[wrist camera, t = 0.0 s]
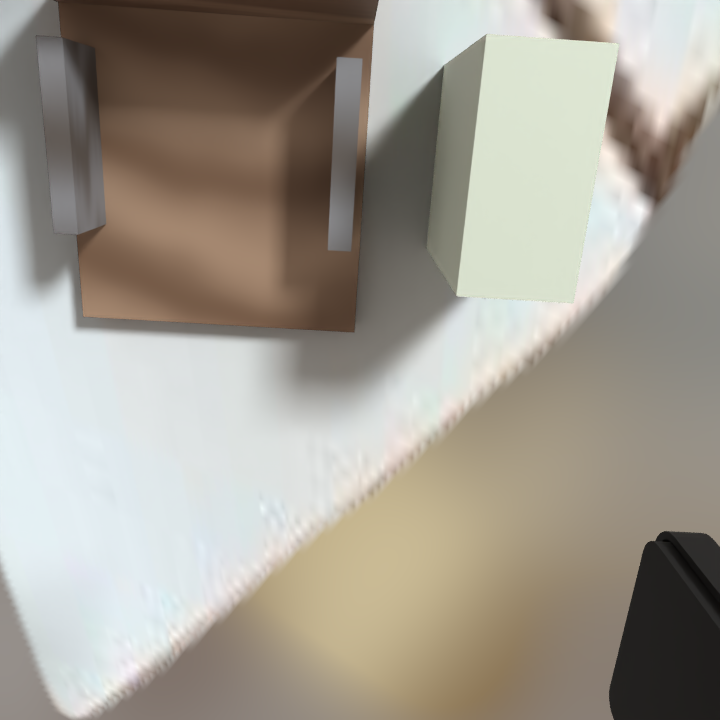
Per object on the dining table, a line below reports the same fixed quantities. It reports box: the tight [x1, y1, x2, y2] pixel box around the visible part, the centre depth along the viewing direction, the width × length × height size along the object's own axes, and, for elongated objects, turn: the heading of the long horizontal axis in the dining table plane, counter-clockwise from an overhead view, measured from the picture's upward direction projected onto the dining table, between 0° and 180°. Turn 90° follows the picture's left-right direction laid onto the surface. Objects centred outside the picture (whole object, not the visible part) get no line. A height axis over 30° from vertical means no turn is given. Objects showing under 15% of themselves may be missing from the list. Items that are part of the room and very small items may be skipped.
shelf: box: [36, 0, 379, 332], centre depth 33 cm, size 18×16×8 cm
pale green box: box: [426, 34, 619, 303], centre depth 32 cm, size 10×5×12 cm, turn 176°
